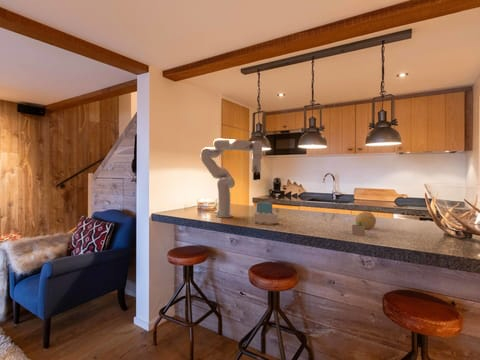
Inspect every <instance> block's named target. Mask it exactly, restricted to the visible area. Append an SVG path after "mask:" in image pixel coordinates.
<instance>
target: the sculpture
mask: <svg viewBox="0 0 480 360" xmlns="http://www.w3.org/2000/svg"><path fill="white" fill-rule="evenodd" d="M359 222H362V225H365V230H366V229H367V230H372V229H373V228H375V226H376V224H377V217H375V215H374V214H373V213H372V212H370V211H363V212H359V213H358V214H357V216H356V217H355V225H359Z"/></svg>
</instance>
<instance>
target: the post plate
mask: <svg viewBox="0 0 480 360" xmlns="http://www.w3.org/2000/svg"><path fill="white" fill-rule="evenodd" d="M260 213H261V214H262V212H260ZM273 213H274V212H272V213H271V214H273ZM255 224H257V225H259V224H260V225H268V226H269V225H271V226H272V225H273V226H276V225H277V223H267V222H255ZM275 224H276V225H275Z"/></svg>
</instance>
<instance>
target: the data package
mask: <svg viewBox="0 0 480 360" xmlns="http://www.w3.org/2000/svg"><path fill="white" fill-rule="evenodd" d="M256 212H262V213H273V203H272V202H267V201H258V202H256Z"/></svg>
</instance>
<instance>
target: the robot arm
mask: <svg viewBox="0 0 480 360" xmlns="http://www.w3.org/2000/svg"><path fill="white" fill-rule="evenodd" d="M227 150H228V151H235V150H236V151H244V152H245V151H246V152H251V160H252V162H251V171H252V180H253V181H258V180H259V181H260V180H261V171H262V160H263V143H262V140H254V141H249V140H246V139H245V140H243V139H232V138H231V139H230V138H216V139H214V140H213V147H210V146H208V147H204V148H202V149H201V151H200V159H201V161H202V164H203V165H204V166H205V167H206V169H207V171H208V172H209V173H210V174H211V176H212V177H213V178H214V179H216V180H217V179H218V180H217V192H218V210H214V211H213V212H214V214H216V217H217V218H222V219H223V218H231V217H233V214H232V213H231V190H230V189H232V188H234V187H235V185H236V182H235V179H234V177H233V176H232V175H231V173H230V172H229V171H228V169H226V168H225V167H222V166H221V167H220V166H219V165H218V164H217V162H216V161H215V159H216V158H218V157H219V156H220V155H221V154H222V153H224V152H225V151H227Z"/></svg>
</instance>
